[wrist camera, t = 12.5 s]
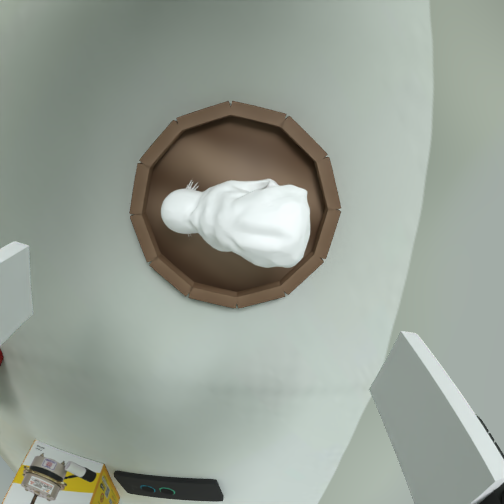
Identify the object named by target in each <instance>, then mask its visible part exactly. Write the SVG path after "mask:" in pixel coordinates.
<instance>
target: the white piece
mask: <svg viewBox="0 0 504 504" xmlns="http://www.w3.org/2000/svg"><path fill="white" fill-rule="evenodd" d="M191 181H192V180H191ZM192 183H193V182H192ZM197 183H198V182H197ZM197 183H196V184H195V186H196V185H197ZM190 184H191V182H190V183H189V185H187V187H186V189H179V190H175V191H173V192H171V193H170V194H169V195H168V196H167V197H166V198H165V199H164V201H163V203H162V206H161V217H162V220H163V222H164V223H165V225H166V226H167V227H168V228H169V229H171V230H173V231H175V232H177V233H182V234H188V236H189V234H190V235H191V233H195V234H196V233H199V234H200V235H201V236H202V238H203V239H204V240H205V241H206V242H207V243H208V244H209V245H211V246H212V247H213V248H215V249H217V250H219V251H223V252H224V251H225V252H230V251H232V252H234V253H236V254H238V255H240V256H242V257H243V258H244V259H246V260H247V261H249V262H251V263H253V264H254V265H257V266H261V267H265V268H270V267H285V268H290V267H293V266H295V265H296V264H297V263H298V262H299V261H300V260H301V259H302V258H303V256H304V252H305V249H306V246H307V243H308V240H309V236H310V208H309V205H308V202H307V191H306V190H305V189H302V188H299V187H296V186H294V185H284V186H279V185H278V184H277V183H276V182H275V181H274V180H272V179H264V180H259V181H235V180H230V181H226V182H223V183H221V184H218V185H216V186H213V187H210V188H208V189H207V190H205V191H204V192H200V191H196V189H197V187H199V186H197V187H196V188H195V186H194V187H193V188H192V189H191V186H192V184H191V185H190ZM194 188H195V189H194ZM193 189H194V190H193Z"/></svg>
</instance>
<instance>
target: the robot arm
mask: <svg viewBox="0 0 504 504" xmlns="http://www.w3.org/2000/svg"><path fill="white" fill-rule="evenodd" d="M33 314H34V312H33V302H32V291H31V276H30V250H29V245H25V244H22V243H19V242H16V241H14V242H12V243H10V244H8V245H6V246H4V247H3V248H1V249H0V346H1V345H2V344H3V343H4V342H5V341H6V340H7V339H8V338H9V337H10V336H11V335H12V334H13V333H14V332H15V331H16V330H17V329H18V328H19V327H20V326H21V325H22V324H23V323H24V322H25V321H26V320H27V319H28V318H29V317H30V316H32V315H33ZM369 390H370V392H371V395H372V397H373V399H374V402H375V404H376V407H377V409H378V411H379V414H380V416H381V419H382V421H383V423H384V426H385V428H386V431H387V433H388V436H389V438H390V441H391V443H392V446H393V448H394V451H395V453H396V456H397V458H398V461H399V464H400V466H401V469H402V471H403V474H404V476H405V479H406V482H407V485H408V488H409V490H410V493H411V496H412V498H413V501H414V504H504V455H503V453H502V451H501V450H500V448H499V446H498V445H497V443H496V442H495V443H494V439H493V437H492V435H491V434H490V433H488V429H487V428H486V426H485V424H484V423H483V421H482V420H481V419H480V418H479V417H478V416H477V415H476V414H475V413H474V412H473V410H472V409H471V407H470V406H469V404H468V403H467V401H466V400H465V398H464V397H463V396H462V394H461V393H460V391H459V390H458V388H457V387H456V385H455V384H454V383H453V381H452V380H451V378H450V377H449V376H448V374H447V373H446V372H445V370H444V369H443V367H442V366H441V365H440V363H439V362H438V361H437V360H436V358H435V356H434V355H433V354H432V352H431V351H430V350H429V349H428V347H427V346H426V344H425V343H424V342H423V341H422V339H421V338H420V337H419V335H418V334H417V333H410V332H404V331H401V332H400V334H399V336H398V338H397V340H396V342H395V343H394V345H393V347H392V349H391V351H390V353H389V355H388V357H387V359H386V360H385V362H384V364H383V366H382V368H381V370H380V371H379V373H378V375H377V377H376V378H375V380H374V382H373V383H372V385H371V387H370V389H369Z"/></svg>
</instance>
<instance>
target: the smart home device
mask: <svg viewBox="0 0 504 504" xmlns="http://www.w3.org/2000/svg"><path fill="white" fill-rule="evenodd" d="M114 477H115V478H116V479H117V481H118V482H119V483H120V484H121V486H122V487H123V488H124V489H125V490H126V492H127V493H130V494H136V495H142V496H150V497H158V498H167V499H178V500H193V501H223V494H222V492H221V489H220V487H219V484H218V482H217V480H214V479H192V478H174V477H162V476H152V475H143V474H135V473H128V472H122V471H115V473H114Z"/></svg>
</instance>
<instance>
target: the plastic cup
mask: <svg viewBox="0 0 504 504" xmlns="http://www.w3.org/2000/svg"><path fill="white" fill-rule="evenodd" d="M2 360H3V355H2V352H1V349H0V365H1V363H2Z"/></svg>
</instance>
